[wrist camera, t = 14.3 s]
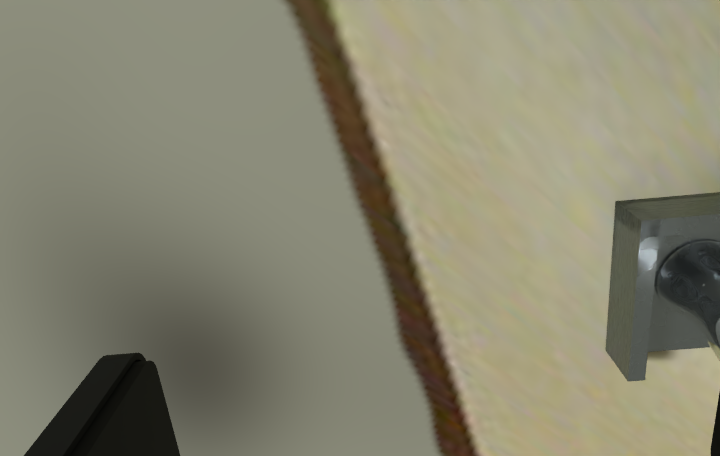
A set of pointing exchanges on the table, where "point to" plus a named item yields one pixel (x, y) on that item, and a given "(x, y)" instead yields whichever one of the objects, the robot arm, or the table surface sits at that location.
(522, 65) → the table surface
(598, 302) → the table surface
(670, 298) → the beer glass
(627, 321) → the grey tray
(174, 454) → the robot arm
